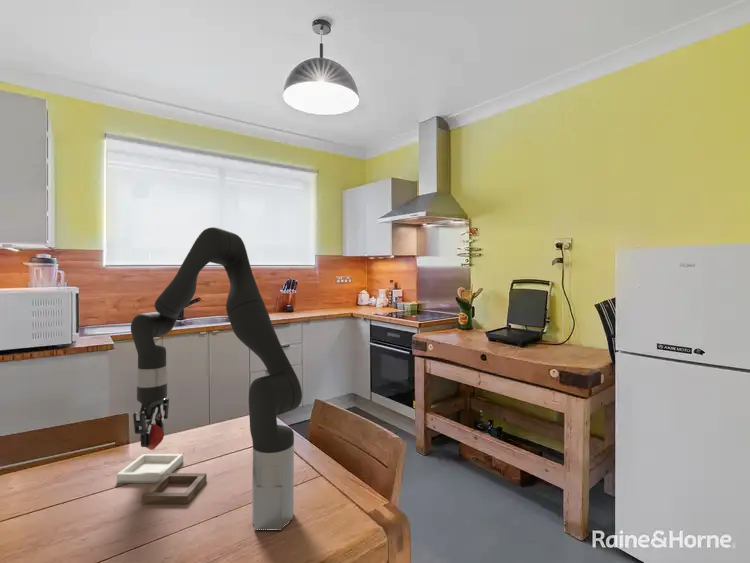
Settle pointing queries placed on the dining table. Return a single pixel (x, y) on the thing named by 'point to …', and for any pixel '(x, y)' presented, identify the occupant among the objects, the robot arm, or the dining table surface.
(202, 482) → the frame
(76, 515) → the dining table surface
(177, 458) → the tray
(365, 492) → the dining table surface
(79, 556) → the dining table surface
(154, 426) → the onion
